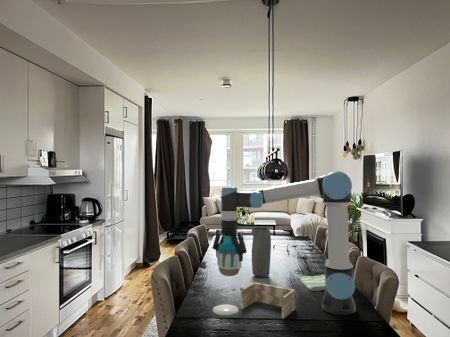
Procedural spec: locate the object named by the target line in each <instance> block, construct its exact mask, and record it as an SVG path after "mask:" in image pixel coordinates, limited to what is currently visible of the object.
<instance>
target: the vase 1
mask: <svg viewBox="0 0 450 337" xmlns="http://www.w3.org/2000/svg"><path fill="white" fill-rule="evenodd" d="M234 239H235V238H234ZM237 254H238V252H237V249H236V246H235V245H234V243H233V242H232V241H231V236H225V235H224V239H223V242H222V243H221V244H220V245H219V249H218V265H217V266H218V271H219V273H220V274H221V275H222V276H225V277H234V276H237V275H238V274H239V272H240V270H241V268H239V269H237Z"/></svg>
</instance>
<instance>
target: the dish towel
mask: <svg viewBox="0 0 450 337" xmlns="http://www.w3.org/2000/svg"><path fill="white" fill-rule="evenodd" d="M298 280H300V281H301V283H302V284H303V285H304V286H305V287H306V288H307V290H309V291H311V292H318V291H321V290H324V291H325V274H319V275H313V276H311V275H301V276H299V277H298Z"/></svg>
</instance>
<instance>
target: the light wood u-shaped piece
mask: <svg viewBox="0 0 450 337" xmlns="http://www.w3.org/2000/svg"><path fill="white" fill-rule="evenodd" d="M239 290H240V295H241V296H240V306H241V307H240V308H242V310H244V309H245V308H247V307H248V305H249V306H251V305H252V304H253V303H255V302H257V303H258V302H259V303H263V304H267V305H271V306H275V307H279V308H280V307H281V319H283V320H284V319H285V318H287V317H288V316H289V315H290V314H292V313H293V312H294V311H295V310H296V289H293V288H287V287H283V286H282V287H281V286H276V285H270V284H264V283H259V282H252V283H251V284H248V285H247V286H245V287H240V288H239Z"/></svg>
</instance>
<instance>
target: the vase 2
mask: <svg viewBox="0 0 450 337" xmlns="http://www.w3.org/2000/svg"><path fill="white" fill-rule="evenodd" d="M251 232H252V242H251V243H252V244H251V270H252V275H253V276H255V277H258V278H268V277H270V270H271V254H272V251H271V250H272V237H271V231H270V228H269V227H265V226H264V227H263V226H256V227H252V228H251Z"/></svg>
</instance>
